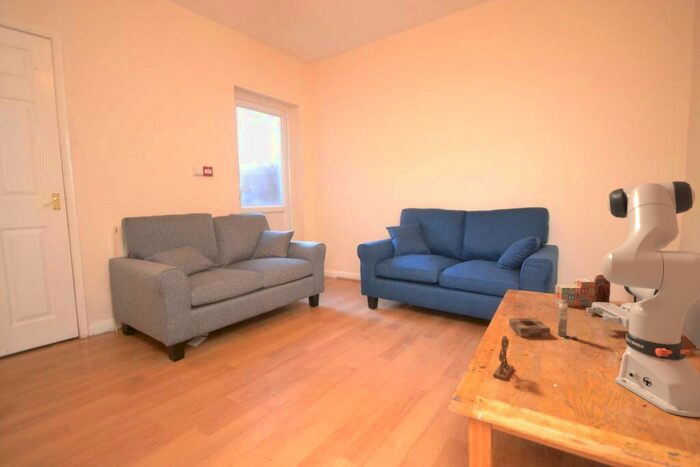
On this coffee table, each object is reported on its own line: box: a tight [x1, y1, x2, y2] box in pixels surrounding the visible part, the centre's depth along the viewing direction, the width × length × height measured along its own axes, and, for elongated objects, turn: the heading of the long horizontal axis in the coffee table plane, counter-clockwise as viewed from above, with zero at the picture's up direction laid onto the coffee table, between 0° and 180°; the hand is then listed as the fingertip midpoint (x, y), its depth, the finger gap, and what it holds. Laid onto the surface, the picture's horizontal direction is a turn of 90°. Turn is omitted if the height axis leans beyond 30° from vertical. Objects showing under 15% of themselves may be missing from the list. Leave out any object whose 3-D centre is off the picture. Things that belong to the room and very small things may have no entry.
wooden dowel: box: [557, 300, 569, 338], centre depth 130 cm, size 3×3×14 cm
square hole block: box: [508, 317, 551, 338], centre depth 135 cm, size 11×11×4 cm
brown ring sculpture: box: [492, 335, 515, 382], centre depth 104 cm, size 9×4×12 cm, turn 140°
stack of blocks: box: [554, 278, 595, 307], centre depth 166 cm, size 21×6×12 cm, turn 85°
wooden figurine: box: [591, 274, 611, 318], centre depth 152 cm, size 12×6×18 cm, turn 143°
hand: (595, 314), depth 129 cm, fingers open, 8 cm apart
